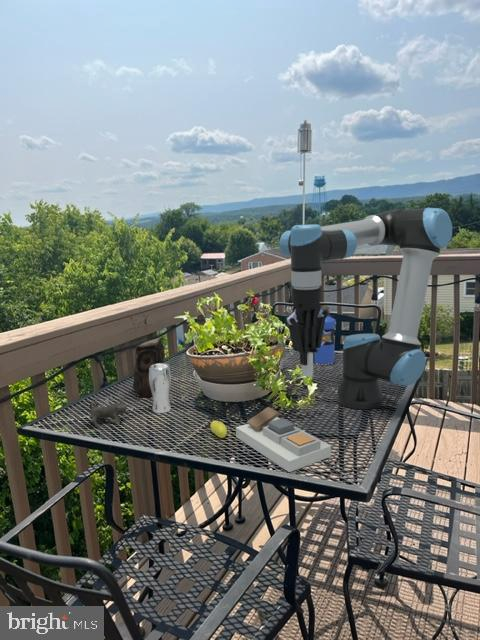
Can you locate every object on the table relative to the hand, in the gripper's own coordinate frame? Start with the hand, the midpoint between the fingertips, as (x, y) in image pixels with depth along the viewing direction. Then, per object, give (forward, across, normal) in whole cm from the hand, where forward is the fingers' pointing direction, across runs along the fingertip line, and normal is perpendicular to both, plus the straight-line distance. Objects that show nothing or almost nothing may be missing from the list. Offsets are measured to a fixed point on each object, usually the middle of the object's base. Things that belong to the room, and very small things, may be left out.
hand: (307, 375), depth 125 cm
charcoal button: (+16, +5, -5) cm, 18 cm away
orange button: (+17, +6, +3) cm, 19 cm away
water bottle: (+23, -58, -54) cm, 83 cm away
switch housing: (+20, +6, -5) cm, 22 cm away
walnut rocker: (+15, +5, -13) cm, 21 cm away
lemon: (+20, +15, -22) cm, 33 cm away
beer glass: (+20, +21, -49) cm, 57 cm away
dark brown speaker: (+20, +17, -66) cm, 72 cm away
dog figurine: (+20, +38, -49) cm, 65 cm away
